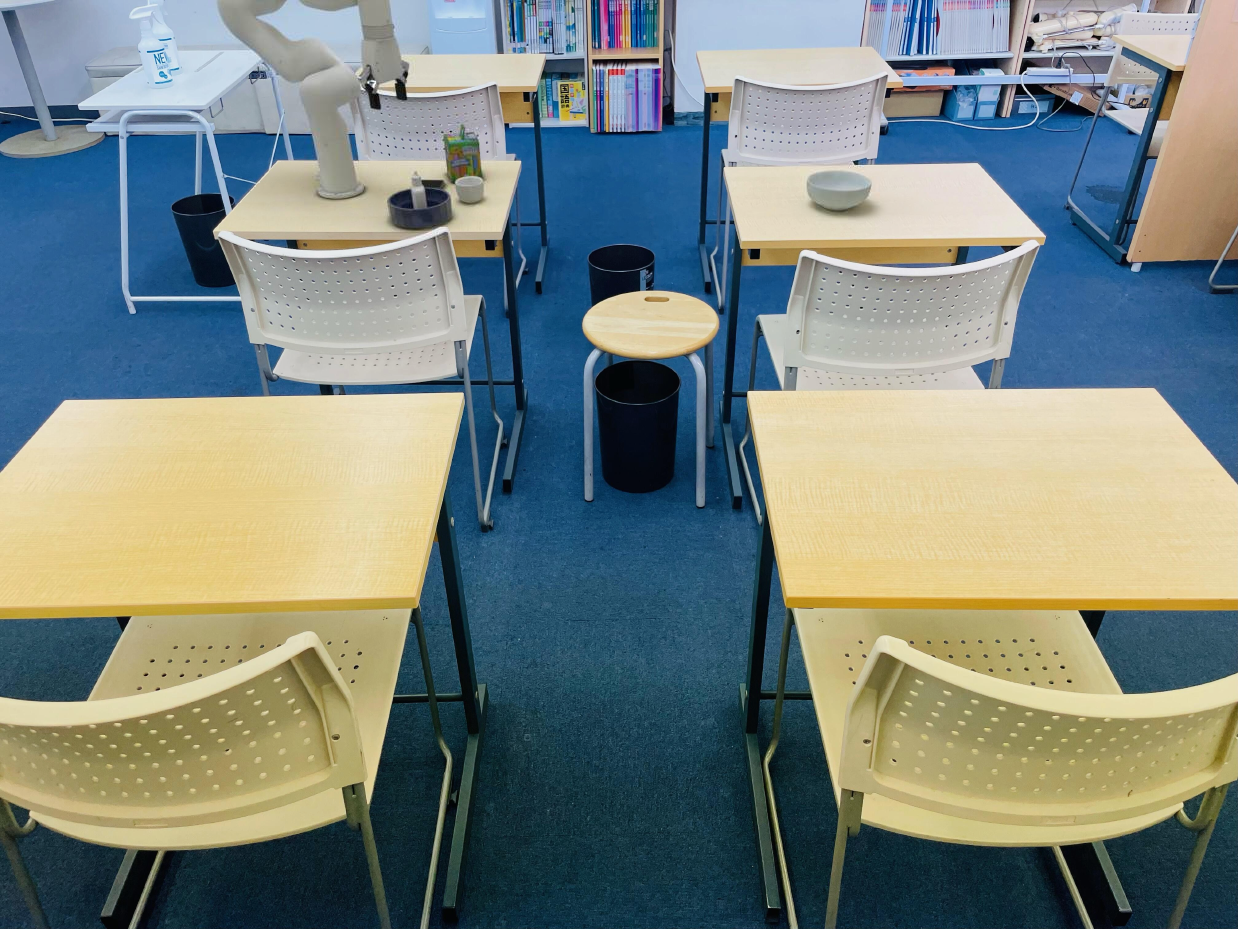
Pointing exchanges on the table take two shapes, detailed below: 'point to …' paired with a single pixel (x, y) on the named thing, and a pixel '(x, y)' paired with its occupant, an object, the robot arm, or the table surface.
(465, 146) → the chalk box
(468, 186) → the teacup
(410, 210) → the bowl
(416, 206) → the eye dropper bottle
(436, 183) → the phone
